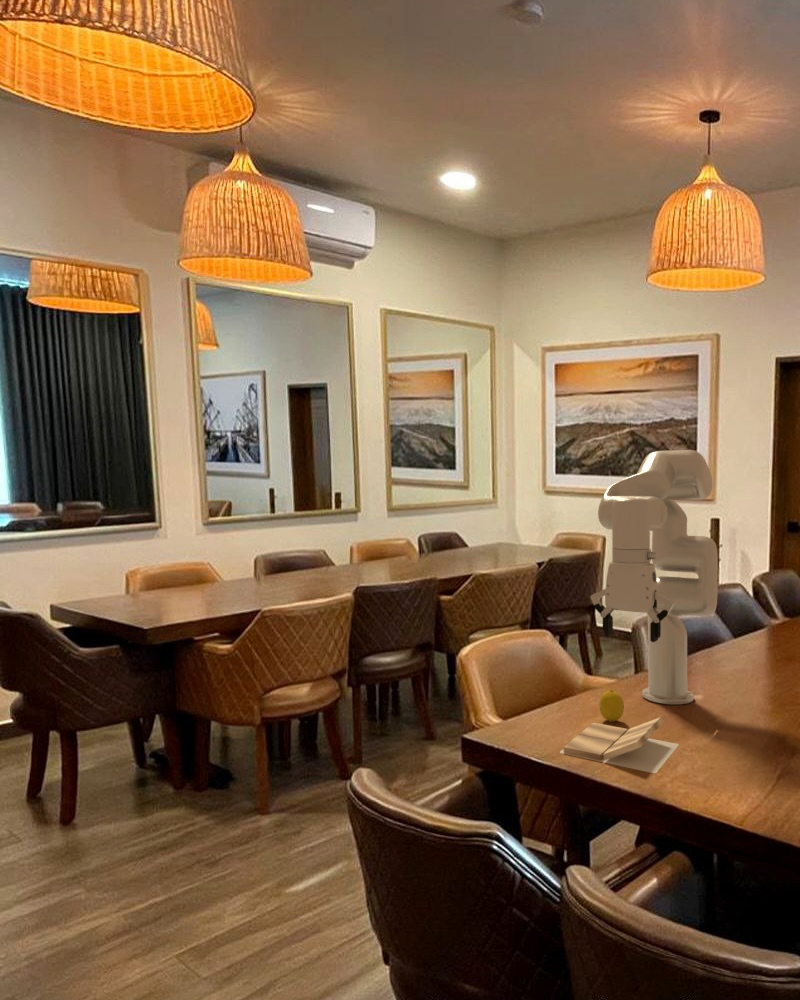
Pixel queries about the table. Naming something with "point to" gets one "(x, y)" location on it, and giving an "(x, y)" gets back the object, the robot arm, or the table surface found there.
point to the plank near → (627, 744)
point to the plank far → (644, 727)
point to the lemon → (611, 705)
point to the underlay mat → (642, 756)
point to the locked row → (594, 741)
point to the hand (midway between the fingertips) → (631, 638)
